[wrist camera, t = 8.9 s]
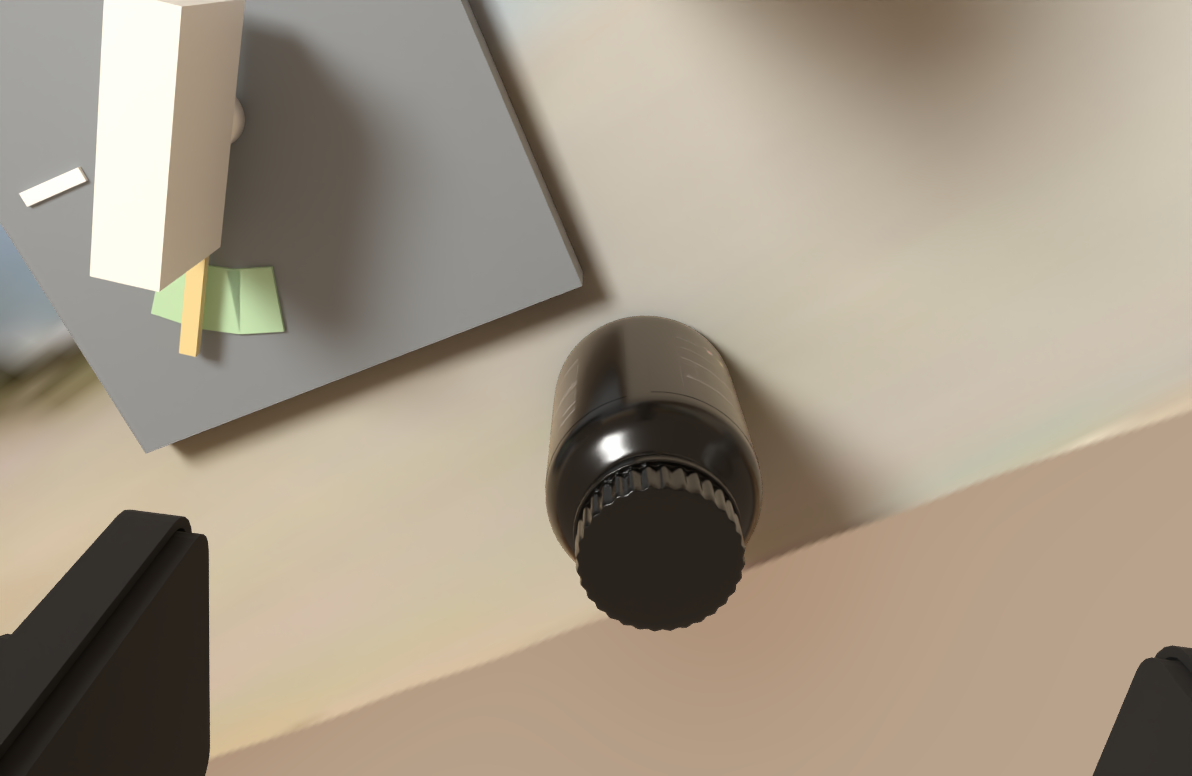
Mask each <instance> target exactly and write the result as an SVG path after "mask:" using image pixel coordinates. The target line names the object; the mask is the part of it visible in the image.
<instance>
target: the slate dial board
mask: <svg viewBox="0 0 1192 776" xmlns="http://www.w3.org/2000/svg"><path fill="white" fill-rule="evenodd" d="M103 6H104V0H0V223H1V225H2V226H3V228H4V230H5V231H6V233H7V234H8V236H9V238H10V239H11V241H12V242H13V244H14V246H15V247H16V249H17V250H18V252H19V253H20V255H21V257H22V258H23V260H24V261H25V263H26V265H27V266H28V268H29V269H30V271H31V272H32V274H33V276H34V277H35V279H36V280H37V282H38V284H39V285H40V287H41V288H42V290H43V291H44V293H45V295H46V296H47V298H48V299H49V301H50V303H51V304H52V306H53V307H54V309H55V310H56V312H57V314H58V315H59V317H60V318H61V320H62V322H63V323H64V325H65V326H66V328H67V330H68V331H69V333H70V334H71V336H72V337H73V339H74V341H75V342H76V344H77V345H78V347H79V349H80V350H81V352H82V353H83V355H84V356H85V358H86V360H87V361H88V363H89V364H90V366H91V368H92V369H93V371H94V372H95V374H96V375H97V377H98V379H99V380H100V382H101V383H102V385H103V387H104V388H105V390H106V391H107V393H108V395H109V396H110V398H111V399H112V401H113V402H114V404H115V406H116V407H117V409H118V410H119V412H120V414H121V415H122V417H123V418H124V420H125V421H126V423H127V425H128V426H129V428H130V429H131V431H132V433H133V434H134V436H135V437H136V439H137V440H138V442H139V444H140V445H141V447H142V448H143V450H144V452H145V453H149V452H151V451H154V450H156V449H159V448H162V447H164V446H167V445H169V444H172V443H175V442H177V441H180V440H182V439H185V438H188V437H190V436H193V435H195V434H198V433H201V432H203V431H206V430H209V429H211V428H214V427H216V426H219V425H222V424H224V423H227V422H229V421H232V420H235V419H237V418H240V417H242V416H245V415H248V414H250V413H253V412H255V411H258V410H261V409H263V408H266V407H268V406H271V405H274V404H276V403H279V402H281V401H284V400H287V399H289V398H292V397H294V396H297V395H300V394H302V393H305V392H307V391H310V390H313V389H315V388H318V387H321V386H323V385H326V384H328V383H331V382H334V381H336V380H339V379H341V378H344V377H347V376H349V375H352V374H354V373H357V372H360V371H362V370H365V369H367V368H370V367H373V366H375V365H378V364H380V363H383V362H386V361H388V360H391V359H393V358H396V357H399V356H401V355H404V354H406V353H409V352H412V351H414V350H417V349H419V348H422V347H425V346H427V345H430V344H433V343H435V342H438V341H440V340H443V339H446V338H448V337H451V336H453V335H456V334H459V333H461V332H464V331H466V330H469V329H472V328H474V327H477V326H479V325H482V324H485V323H487V322H490V321H492V320H495V319H498V318H500V317H503V316H505V315H508V314H511V313H513V312H516V311H518V310H521V309H524V308H526V307H529V306H531V305H534V304H537V303H539V302H542V301H545V300H547V299H550V298H552V297H555V296H558V295H560V294H563V293H565V292H568V291H571V290H573V289H576V288H578V287H581V286H582V284H583V271H582V269H581V267H580V264H579V262H578V260H577V257H576V255H575V253H574V250H573V248H572V245H571V243H570V241H569V238H568V236H567V234H566V231H565V229H564V227H563V224H562V222H561V219H560V217H559V215H558V212H557V210H556V208H555V205H554V203H553V201H552V198H551V196H550V193H549V191H548V189H547V186H546V184H545V182H544V179H543V177H542V175H541V172H540V170H539V167H538V165H537V163H536V160H535V158H534V156H533V153H532V151H531V149H530V146H529V144H528V141H527V139H526V137H525V134H524V132H523V130H522V127H521V125H520V123H519V120H518V118H517V115H516V113H515V111H514V108H513V106H512V104H511V101H510V99H509V97H508V94H507V92H506V89H505V87H504V85H503V82H502V80H501V78H500V75H499V73H498V71H497V68H496V66H495V63H494V61H493V59H492V56H491V54H490V52H489V49H488V47H487V45H486V42H485V40H484V37H483V35H482V33H481V30H480V28H479V26H478V23H477V21H476V19H475V16H474V14H473V11H472V9H471V7H470V4H469V2H468V0H245V7H244V17H243V27H242V37H241V47H240V57H239V66H238V76H237V86H236V98H237V99H238V100H239V102H240V104H241V106H242V108H243V111H244V115H245V124H244V129H243V131H242V133H241V135H240V137H239V138H238V139H237V140H236V141H234V142H233V143H231V146H230V156H229V166H228V176H227V186H226V196H225V206H224V215H223V225H222V235H221V245H220V248H219V249H217V250H216V251H214V252H213V253H212V254H210V255H209V263H208V274H207V284H206V294H205V305H204V315H203V325H202V336H201V346H200V353H199V354H198V355H197V356H196V357H193V356H189V355H185V354H180V353H179V345H180V334H181V323H182V311H183V300H184V289H185V277H186V273H184V274H183V275H182V276H180V277H179V278H178V279H176V280H175V281H174V282H172V283H171V284H170V285H168V286H167V287H165V288H164V289H163V290H161V291H160V292H157V291H152V290H148V289H144V288H139V287H135V286H131V285H126V284H122V283H117V282H113V281H109V280H104V279H100V278H96V277H91V276H90V262H91V242H92V223H93V203H94V183H95V164H96V144H97V124H98V105H99V85H100V65H101V46H102V26H103Z"/></svg>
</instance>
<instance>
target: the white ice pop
mask: <svg viewBox="0 0 1192 776" xmlns="http://www.w3.org/2000/svg"><path fill="white" fill-rule="evenodd" d="M244 7H245V0H104V6H103V26H102V46H101V65H100V85H99V105H98V124H97V144H96V164H95V183H94V203H93V223H92V242H91V262H90V276H91V277H96V278H100V279H104V280H109V281H113V282H117V283H122V284H126V285H131V286H135V287H139V288H144V289H148V290H152V291H157V292H160V291H161V290H163V289H164V288H165V287H167V286H168V285H170V284H171V283H172V282H174V281H175V280H176V279H178V278H179V277H180V276H182V275H183V274H184V273H186V277H185V289H184V300H183V311H182V323H181V334H180V345H179V353H180V354H185V355H189V356H193V357H196V356H197V355H198V354H199V353H200V346H201V336H202V325H203V315H204V305H205V294H206V284H207V274H208V263H209V255H210V254H212V253H213V252H214V251H216V250H217V249H219V248H220V245H221V235H222V225H223V215H224V206H225V196H226V186H227V176H228V166H229V156H230V146H231V143H233V142H234V141H236V140H237V139H238V138H239V137H240V135H241V133H242V131H243V129H244V124H245V115H244V111H243V108H242V106H241V104H240V102H239V100H238V99H237V98H236V86H237V76H238V66H239V57H240V47H241V37H242V27H243V17H244Z"/></svg>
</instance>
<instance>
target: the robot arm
mask: <svg viewBox="0 0 1192 776" xmlns="http://www.w3.org/2000/svg"><path fill="white" fill-rule="evenodd" d="M209 752H210V698H209V549H208V541H207V538H206V536H205V535H204V534H197V533H192V531H191V526H190V523H189V520H188V519H187V518H186V517H182V516H175V515H167V514H159V513H152V512H144V511H136V510H124V511H123V512H121V513H120V514H119V515H118V516H117V517H116V518H115V519H114V520H113V521H112V523H111V524H110V525H109V526H108V527H107V528H106V529H105V530H104V532H103V533H102V534H101V535H100V536H99V537H98V538H97V539H96V540H95V542H94V543H93V544H92V545H91V546H90V547H89V548H88V549H87V551H86V552H85V553H84V554H83V555H82V556H81V557H80V558H79V560H78V561H77V562H76V563H75V564H74V565H73V566H72V567H71V568H70V570H69V571H68V572H67V573H66V574H65V575H64V576H63V577H62V579H61V580H60V581H59V582H58V583H57V584H56V585H55V586H54V588H53V589H52V590H51V591H50V592H49V593H48V594H47V595H46V596H45V598H44V599H43V600H42V601H41V602H40V603H39V604H38V605H37V607H36V608H35V609H34V610H33V611H32V612H31V613H30V614H29V616H28V617H27V618H26V619H25V620H24V621H23V622H22V623H21V625H20V626H19V627H18V628H17V629H16V630H15V631H14V632H13V633H12V634H5V635H2V636H0V776H205V773H206V770H207V765H208V760H209ZM1093 776H1192V648H1186V647H1178V646H1169V647H1164V648H1163V649H1162V650H1161V651H1159V652H1158V653H1157V655H1156V656H1155V658H1148V659H1145V660H1144V661H1143V662H1142V663H1141V664H1140V666H1139V668H1138V669H1137V671H1136V674H1135V676H1134V678H1133V681H1132V683H1131V685H1130V688H1129V690H1128V693H1127V695H1126V697H1125V700H1124V702H1123V704H1122V707H1121V709H1120V712H1119V714H1118V717H1117V719H1116V721H1115V724H1114V726H1113V728H1112V731H1111V733H1110V736H1109V738H1108V740H1107V743H1106V745H1105V747H1104V750H1103V752H1102V755H1101V757H1100V759H1099V762H1098V764H1097V766H1096V769H1095V771H1094V774H1093Z"/></svg>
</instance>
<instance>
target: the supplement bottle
mask: <svg viewBox="0 0 1192 776" xmlns="http://www.w3.org/2000/svg"><path fill="white" fill-rule="evenodd" d="M545 488H546V507H547V513H548V517H549V521H550V524H551V527H552V529H553V532H554V534H555V536H556V538H557V540H558V541H559V543H560V545H561V546H562V548H563V549H564V550H565V552H566V553H567V554H568V555H569V557H570V558H571V559H572V560H573V561H574V562H575V563H576V570H577V573H578V574H579V576H580V584H581V586H582V587H583V588H584V589H585V590H586V592H587V596H588V598H589V599H591V600H592V601H594V602H595V604H596V606H597V608H598V609H599V610H601V611H604V612H606V614H607V615H608V616H609V617H610V618H612V619H616V620H619V621H620V622H621V623H622V624H623V625H632V626H634V627H635V628H637V629H650V630H652V631H658V630H661V629H664V630H669V631H671V630H674V629H675V628H678V627H681V628H687V627H688V626H690V625H691V624H693V623H698V622H701V621H702V620H704V619H705V617H707V616H709V615H712V614H715V612H716V611H717V609H718V608H719V607H721V606H722V605H724V604H726V602H727V600H728V597H729V596H730V595H732V594H733V593H734V592H735V590H736V584H737V583H738V582H739V581H740V579H741V578H742V572H741V570H742V569H743V567H744V565H745V558H744V552H745V545H746V544H747V542H748V541H749V539H750V537H751V535H752V534H753V532H754V529H755V527H756V525H757V522H758V519H759V515H760V511H761V505H762V494H763V492H762V480H761V473H760V468H759V464H758V461H757V457H756V454H755V451H754V447H753V444H752V441H751V438H750V435H749V432H748V428H747V425H746V422H745V419H744V416H743V413H742V410H741V406H740V403H739V400H738V397H737V394H736V391H735V387H734V384H733V381H732V379H731V376H730V374H729V371H728V368H727V366H726V364H725V362H724V360H723V359H722V357H721V355H720V354H719V352H718V351H717V350H716V348H715V347H714V346H713V345H712V344H711V343H710V342H709V341H708V340H707V339H706V338H705V337H704V336H703V335H701V334H700V333H699V332H697V331H696V330H694V329H692V328H691V327H689V326H687V325H685V324H683V323H680V322H678V321H675V320H671V319H668V318H663V317H657V316H634V317H627V318H623V319H619V320H616V321H613V322H610V323H608V324H606V325H604V326H602V327H600V328H598V329H596V330H595V331H593V332H592V333H590V334H589V335H588V336H586V337H585V338H584V339H583V340H582V341H581V342H580V343H579V344H578V345H577V346H576V347H575V348H574V349H573V350H572V352H571V353H570V355H569V356H568V357H567V359H566V361H565V363H564V365H563V367H562V369H561V372H560V374H559V378H558V381H557V385H556V390H555V397H554V405H553V415H552V425H551V435H550V445H549V455H548V465H547V475H546V487H545Z"/></svg>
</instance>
